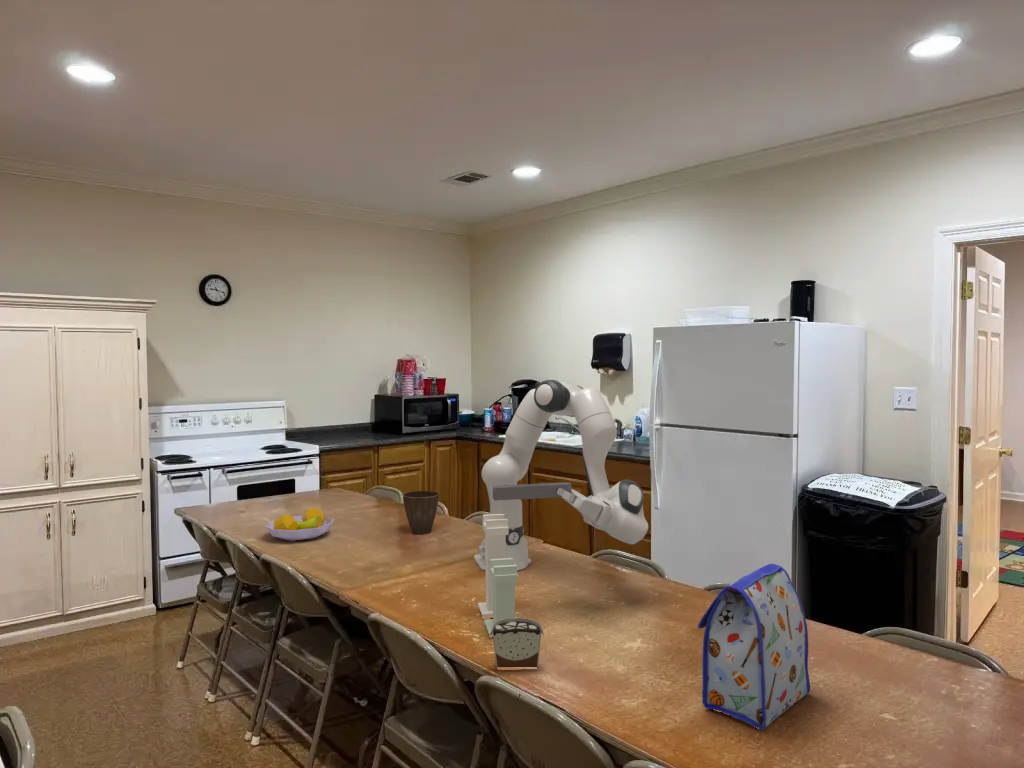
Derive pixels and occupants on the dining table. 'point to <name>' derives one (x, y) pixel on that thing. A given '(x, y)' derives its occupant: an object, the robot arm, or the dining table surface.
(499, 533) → the tall stand
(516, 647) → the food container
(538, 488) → the metal bar
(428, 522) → the plant pot
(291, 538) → the fruit bowl
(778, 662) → the lunch bag
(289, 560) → the dining table surface
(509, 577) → the low stand
